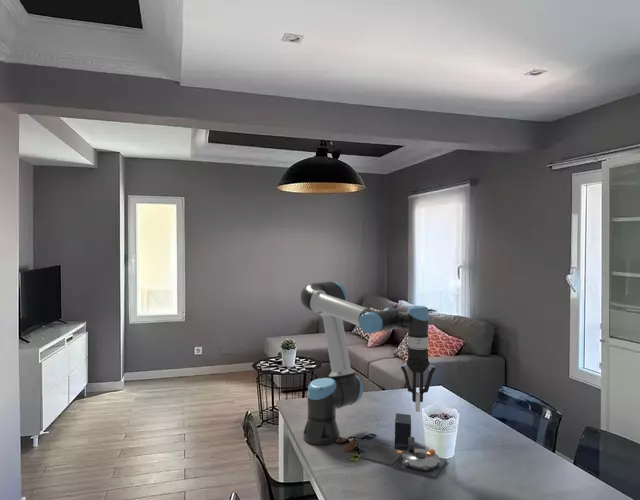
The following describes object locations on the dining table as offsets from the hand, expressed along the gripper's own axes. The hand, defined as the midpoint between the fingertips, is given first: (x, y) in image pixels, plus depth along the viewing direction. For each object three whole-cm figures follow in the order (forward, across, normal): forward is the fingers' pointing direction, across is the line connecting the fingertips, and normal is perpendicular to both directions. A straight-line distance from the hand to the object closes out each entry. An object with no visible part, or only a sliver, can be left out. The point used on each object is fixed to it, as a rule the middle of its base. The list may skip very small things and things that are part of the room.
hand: (417, 410), depth 172 cm
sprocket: (+17, +1, -5) cm, 18 cm away
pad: (+18, -13, +1) cm, 22 cm away
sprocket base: (+18, +1, -5) cm, 19 cm away
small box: (+19, -4, +13) cm, 23 cm away
